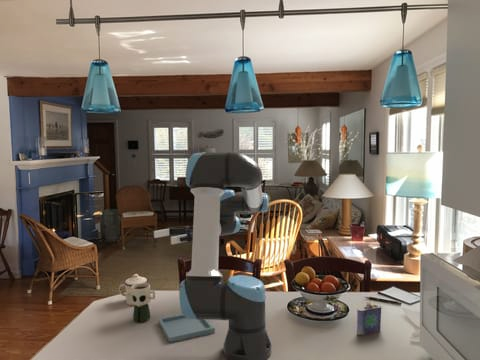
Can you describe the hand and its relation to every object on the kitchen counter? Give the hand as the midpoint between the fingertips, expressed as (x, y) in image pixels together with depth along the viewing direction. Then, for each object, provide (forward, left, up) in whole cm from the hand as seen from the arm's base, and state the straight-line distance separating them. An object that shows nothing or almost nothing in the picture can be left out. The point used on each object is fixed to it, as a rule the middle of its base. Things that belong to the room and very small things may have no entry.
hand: (162, 237), depth 151 cm
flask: (-48, -60, -30) cm, 82 cm away
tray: (-17, -4, -30) cm, 34 cm away
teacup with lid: (+16, +9, -30) cm, 36 cm away
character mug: (-3, +9, -30) cm, 32 cm away
